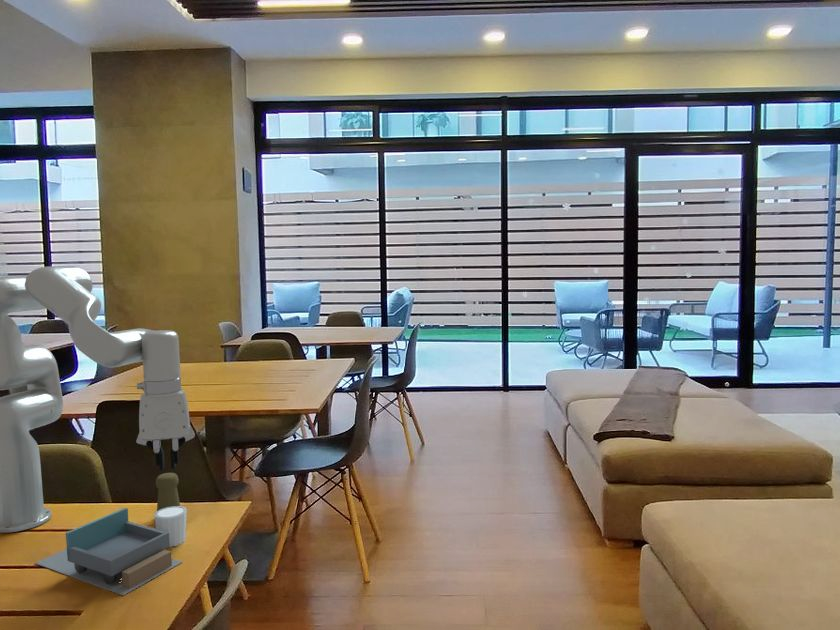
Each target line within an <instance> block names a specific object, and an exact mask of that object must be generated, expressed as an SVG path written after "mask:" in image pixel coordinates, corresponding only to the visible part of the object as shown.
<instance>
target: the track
mask: <svg viewBox="0 0 840 630" xmlns="http://www.w3.org/2000/svg"><path fill="white" fill-rule="evenodd" d="M34 564H35V565H38V566H40V567H43V568H45V569H49V570H51V571H55V572H57V573H60V574H62V575H65V576H68V577H70V578H73V579H76V580H78V581H82V582H84V583H87V584H89V585H91V586H92V585H93V586H95V587H98V588H101V589H103V590H106V591H108V590H109V592H111V591H112V593H114V592H115V594H117V593H118V594H117V595H119V594H120V596H122V595H123V597H124V596H126V595H127V593H128V594H129V593H131V592H133V591H135V590H137V589H139V588H140V587H142V586H143V584H144V583H146V582H147V583H149V582H151V581H152V580H151V579H153V578H154V579H156V578H158V577H160V576H161V575H160V574H162V573H163V574H165V573H167V572H168V571H167V570H169V569H170V570H172V569H174V568H176V567H177V565H178V566H180V565H182V564H183V561H180V560H178V559H175V558H173V557H172V551H170V550H167V549H164V550H163V551H161V552H159V553H157V554H155V555H152V556H150V557H148V558H146V559H144V560H142V561H140V562H139V563H137V564H135V565H133V566H131V567H129V568H127V569H125V570H123V571H121V572H119V573H117V574H116V575H117V579H116V581H114V582H112V583H110V584H108V583H106V582H105V580H104V577H103V573H101V572H98V571H95V570H92V569H89V568H87V570H86V571H85V572H82V573H78V572H77V571H76V570H75V566H74V564H75V563H72V562H69V561H68V559H67V548H65V549H63V550H61V551H59V552H56V553H54V554H52V555H50V556H47V557H45V558H43V559H40V560H38V561H37V562H34ZM175 566H176V567H175ZM173 567H174V568H173ZM171 568H172V569H171ZM170 570H169V571H170ZM166 571H167V572H166ZM164 572H165V573H164ZM163 574H162V575H163ZM159 575H160V576H159ZM157 576H158V577H157ZM121 578H122V580H120V579H121ZM154 579H153V580H154ZM150 580H151V581H150ZM121 581H122V582H121ZM148 581H149V582H148ZM119 582H121V583H119ZM147 583H146V584H147ZM144 585H145V584H144ZM139 586H140V587H139ZM136 588H137V589H136ZM132 590H133V591H132Z"/></svg>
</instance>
